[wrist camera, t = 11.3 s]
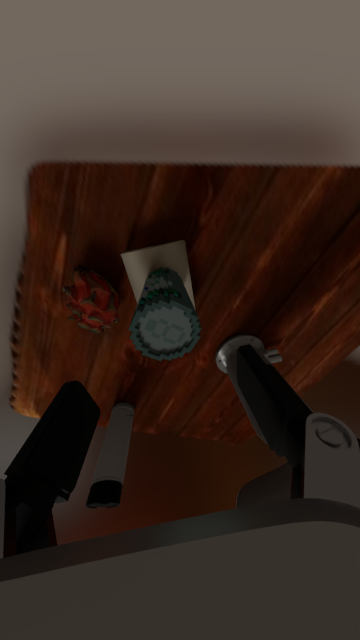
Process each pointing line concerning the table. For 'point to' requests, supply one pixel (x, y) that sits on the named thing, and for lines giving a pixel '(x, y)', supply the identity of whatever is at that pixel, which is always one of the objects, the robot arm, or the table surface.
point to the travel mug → (112, 459)
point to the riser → (157, 264)
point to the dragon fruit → (92, 300)
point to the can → (164, 317)
